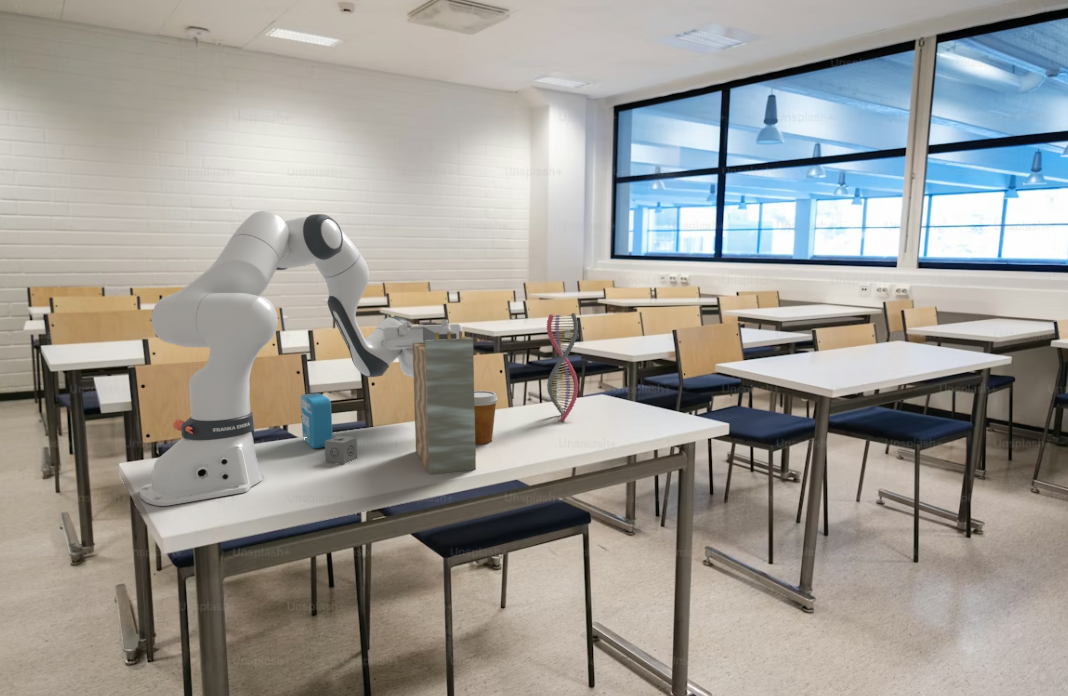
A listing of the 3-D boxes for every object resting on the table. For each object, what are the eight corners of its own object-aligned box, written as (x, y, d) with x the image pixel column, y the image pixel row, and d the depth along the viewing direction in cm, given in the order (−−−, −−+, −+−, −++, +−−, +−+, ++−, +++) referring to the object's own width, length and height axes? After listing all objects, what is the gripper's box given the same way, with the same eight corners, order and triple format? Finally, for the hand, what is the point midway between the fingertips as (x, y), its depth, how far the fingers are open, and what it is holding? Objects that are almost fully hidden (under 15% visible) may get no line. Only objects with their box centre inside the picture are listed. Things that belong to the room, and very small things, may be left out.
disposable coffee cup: (499, 436, 179) (499, 390, 178) (496, 446, 170) (495, 397, 169) (463, 436, 180) (461, 390, 178) (457, 446, 170) (456, 397, 169)
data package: (302, 439, 178) (300, 393, 177) (320, 437, 180) (318, 391, 179) (314, 450, 168) (312, 401, 166) (333, 447, 170) (331, 399, 169)
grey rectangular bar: (423, 340, 167) (422, 326, 166) (439, 340, 168) (439, 325, 167) (438, 350, 148) (437, 334, 147) (456, 349, 149) (456, 333, 148)
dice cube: (325, 462, 158) (324, 441, 157) (338, 456, 162) (337, 435, 162) (344, 464, 156) (343, 442, 155) (357, 458, 160) (356, 437, 160)
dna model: (546, 421, 195) (546, 314, 192) (547, 414, 204) (546, 312, 200) (578, 421, 195) (578, 314, 191) (578, 414, 204) (577, 312, 200)
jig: (415, 451, 166) (411, 325, 162) (457, 447, 169) (454, 323, 165) (429, 474, 148) (425, 333, 144) (475, 469, 151) (472, 331, 147)
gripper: (379, 336, 183) (383, 313, 171) (456, 332, 189) (464, 310, 177) (381, 358, 181) (385, 336, 169) (458, 354, 187) (468, 333, 175)
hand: (426, 323), depth 173 cm, fingers open, 8 cm apart
